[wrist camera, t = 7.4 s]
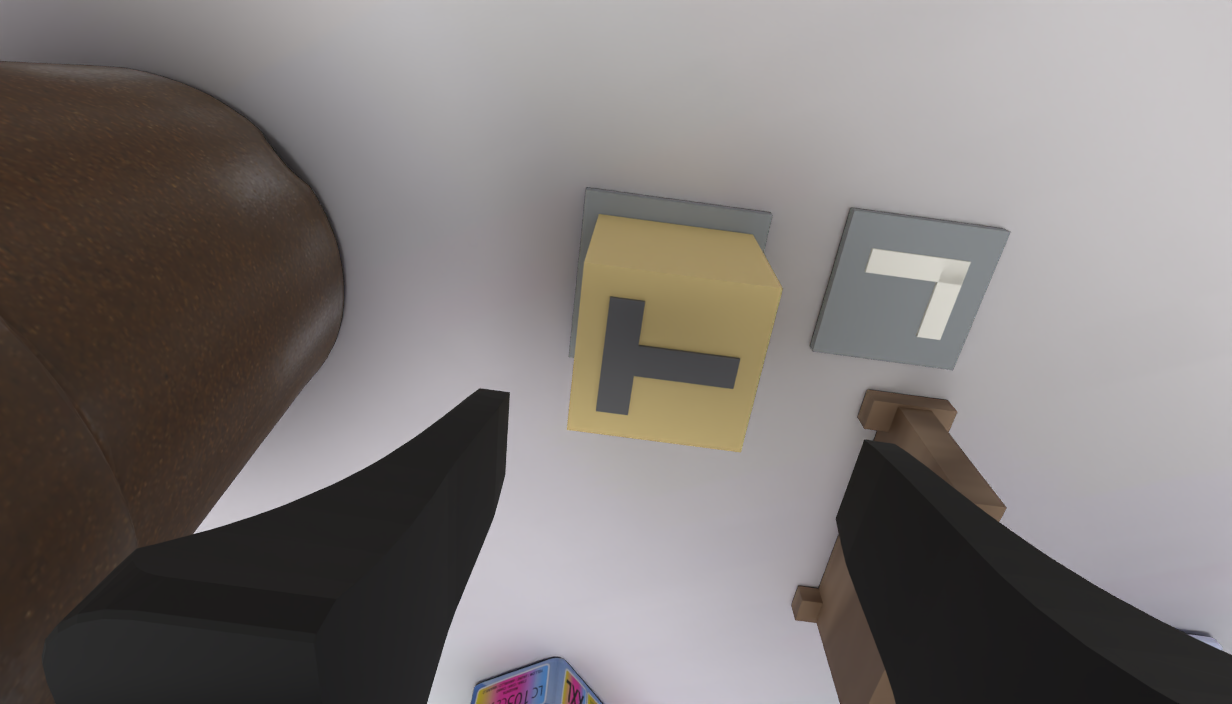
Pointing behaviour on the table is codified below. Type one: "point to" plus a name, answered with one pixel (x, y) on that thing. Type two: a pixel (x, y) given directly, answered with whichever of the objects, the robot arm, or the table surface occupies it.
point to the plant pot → (137, 326)
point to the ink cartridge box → (536, 686)
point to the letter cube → (671, 333)
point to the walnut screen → (836, 602)
